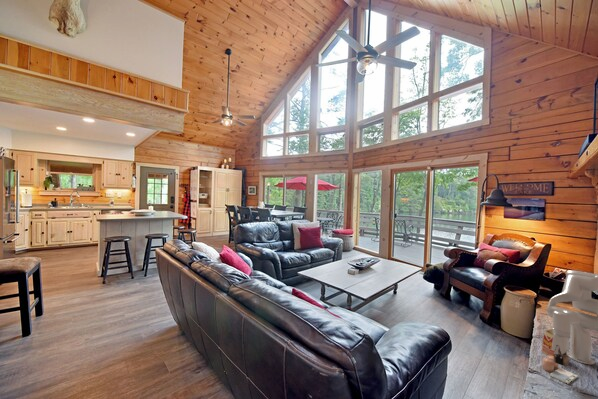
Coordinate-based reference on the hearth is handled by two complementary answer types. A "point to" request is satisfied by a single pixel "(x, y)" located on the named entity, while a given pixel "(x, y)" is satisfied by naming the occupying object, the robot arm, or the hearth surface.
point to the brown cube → (564, 359)
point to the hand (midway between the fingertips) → (561, 362)
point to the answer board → (563, 375)
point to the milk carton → (548, 342)
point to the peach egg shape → (553, 361)
